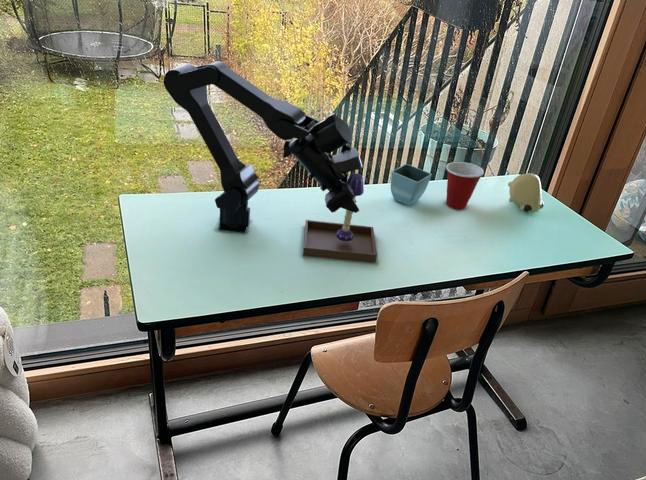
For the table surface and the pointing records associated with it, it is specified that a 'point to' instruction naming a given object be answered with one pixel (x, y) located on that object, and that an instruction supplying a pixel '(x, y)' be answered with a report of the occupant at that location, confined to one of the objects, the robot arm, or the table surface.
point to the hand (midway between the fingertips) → (356, 207)
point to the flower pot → (408, 183)
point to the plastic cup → (461, 183)
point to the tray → (339, 242)
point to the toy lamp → (358, 190)
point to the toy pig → (526, 193)
